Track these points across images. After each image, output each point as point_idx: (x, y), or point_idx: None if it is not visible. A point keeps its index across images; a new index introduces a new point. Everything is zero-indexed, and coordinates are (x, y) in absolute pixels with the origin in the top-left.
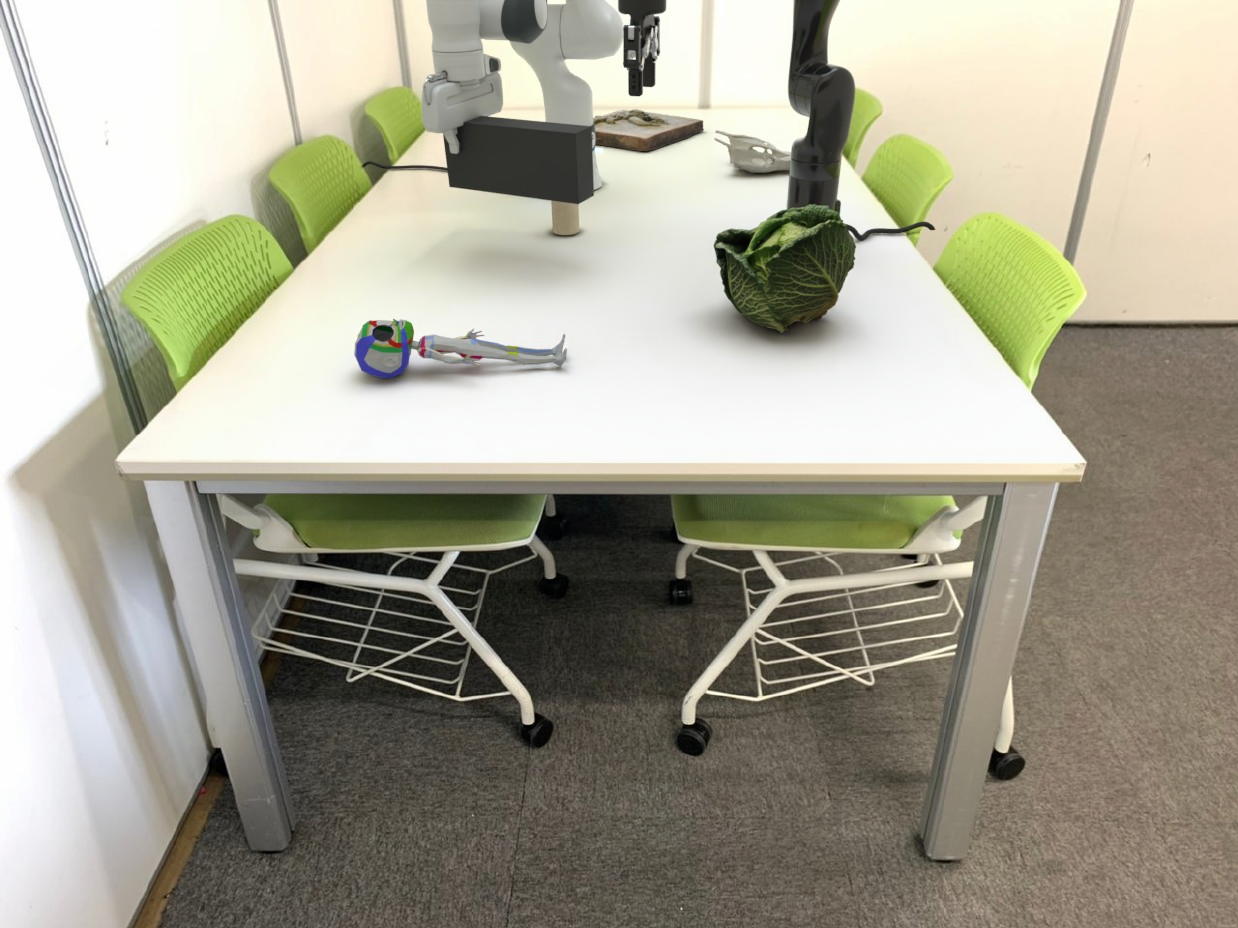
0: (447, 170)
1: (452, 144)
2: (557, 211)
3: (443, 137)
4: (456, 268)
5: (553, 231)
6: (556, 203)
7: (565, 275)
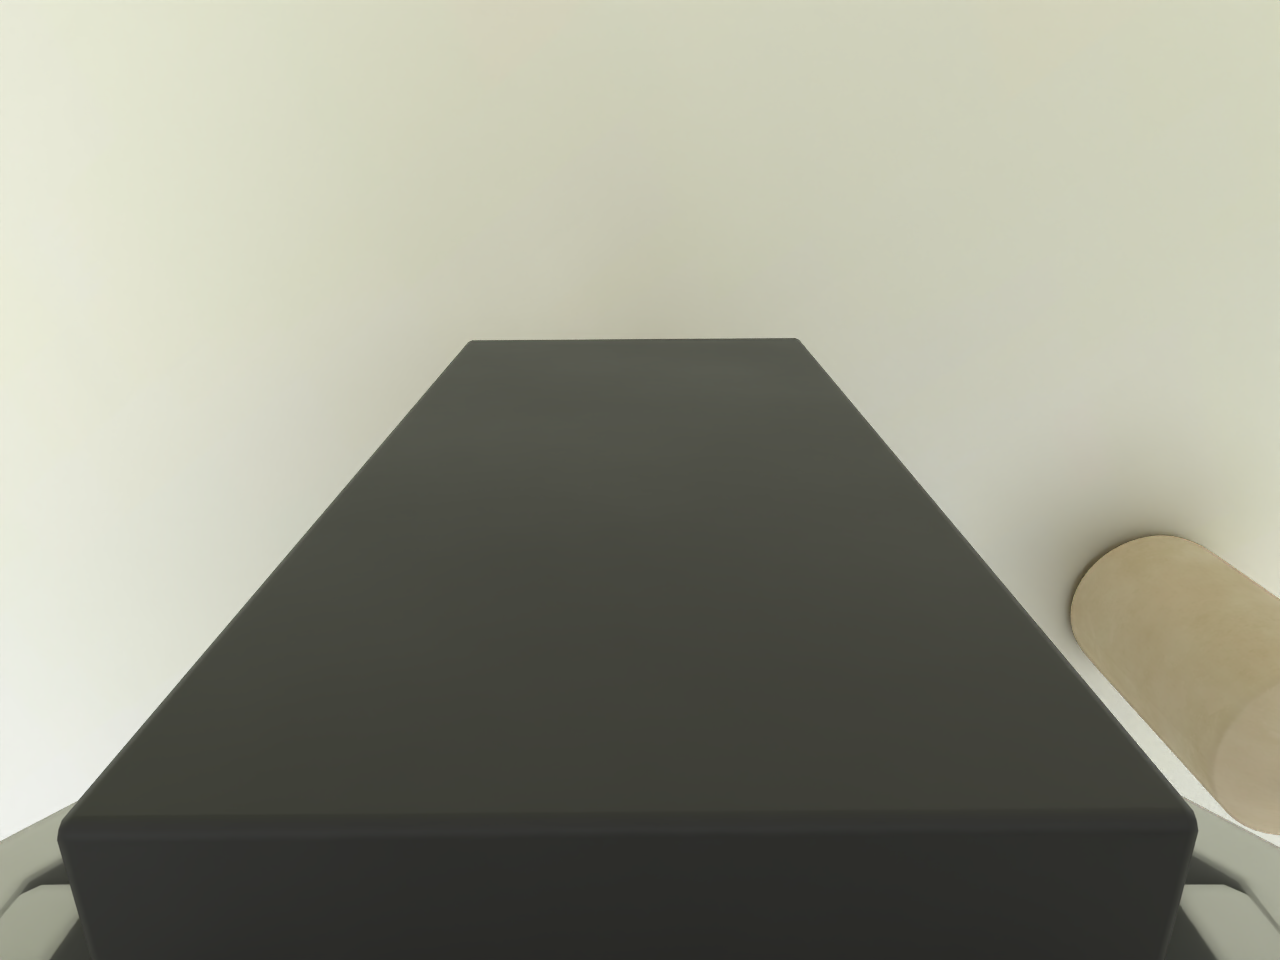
0: (435, 382)
1: None
2: (1143, 674)
3: (281, 564)
4: (360, 384)
5: (1103, 561)
6: (1174, 700)
7: None
